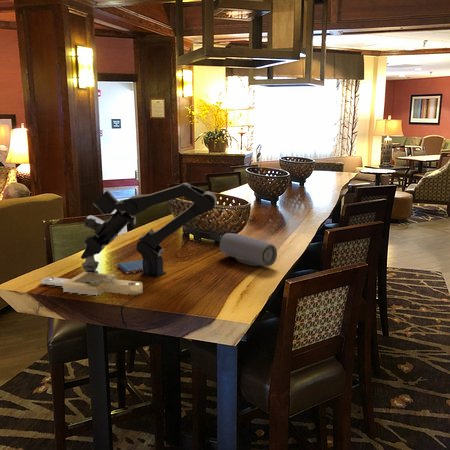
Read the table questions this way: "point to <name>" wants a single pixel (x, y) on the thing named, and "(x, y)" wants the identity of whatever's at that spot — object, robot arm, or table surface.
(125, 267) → the woven mat
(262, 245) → the bluetooth speaker
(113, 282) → the square wooden loop
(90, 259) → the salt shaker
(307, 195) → the table surface
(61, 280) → the cream handled frame
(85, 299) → the table surface
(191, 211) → the robot arm
